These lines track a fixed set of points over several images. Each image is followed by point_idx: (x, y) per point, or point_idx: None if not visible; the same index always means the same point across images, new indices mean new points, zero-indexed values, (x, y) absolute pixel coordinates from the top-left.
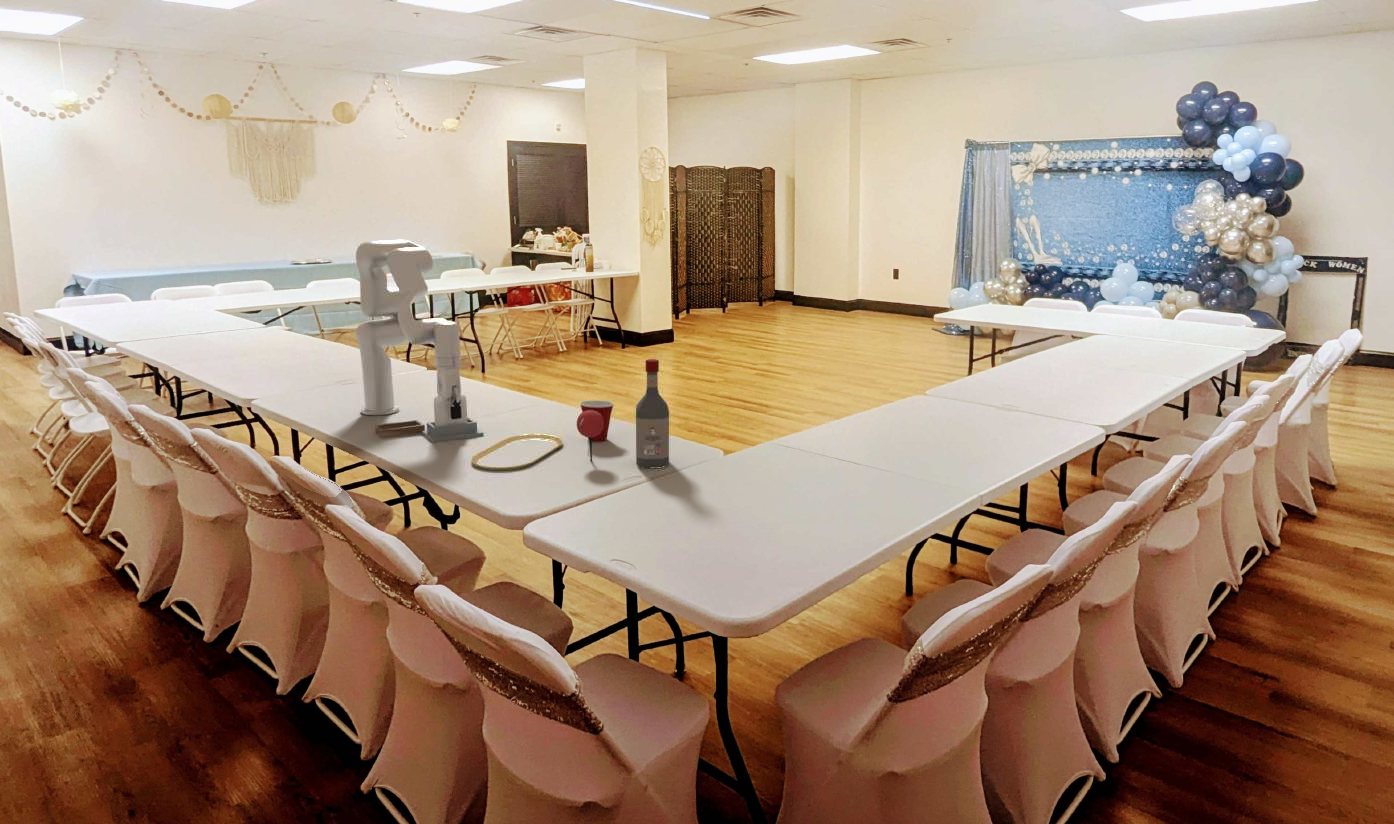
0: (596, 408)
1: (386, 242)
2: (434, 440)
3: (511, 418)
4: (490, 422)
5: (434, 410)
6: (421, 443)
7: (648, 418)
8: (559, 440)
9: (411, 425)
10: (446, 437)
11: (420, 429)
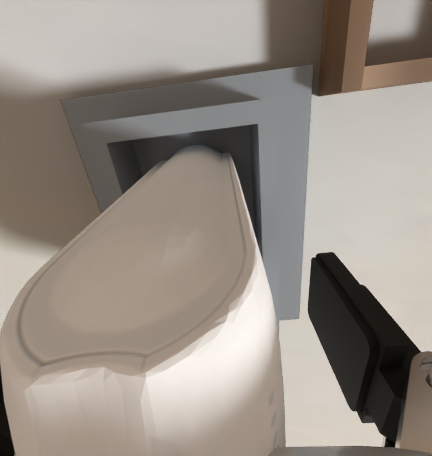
0: None
1: None
2: (68, 111)
3: (328, 411)
4: (319, 365)
5: (163, 187)
6: (67, 19)
7: None
8: None
9: None
10: (93, 186)
11: (331, 58)
